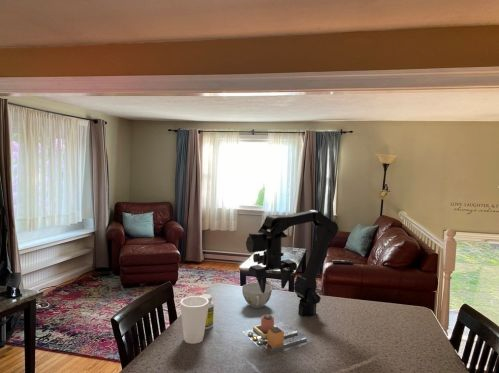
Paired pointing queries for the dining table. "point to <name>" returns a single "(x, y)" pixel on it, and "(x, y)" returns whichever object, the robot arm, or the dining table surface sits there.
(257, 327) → the socket
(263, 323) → the salmon cylinder
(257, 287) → the teacup
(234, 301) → the dining table surface
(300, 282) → the robot arm
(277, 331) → the toggle
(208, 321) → the pill bottle
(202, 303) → the foam cup
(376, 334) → the dining table surface
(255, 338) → the panel
